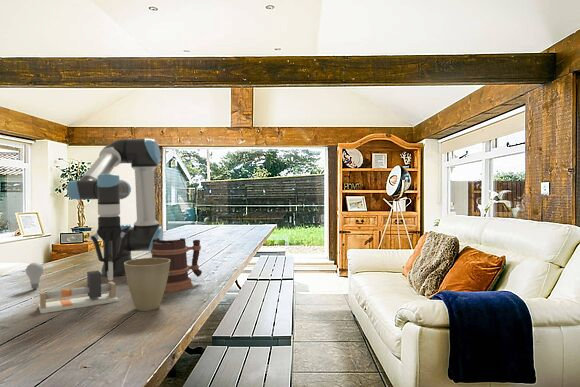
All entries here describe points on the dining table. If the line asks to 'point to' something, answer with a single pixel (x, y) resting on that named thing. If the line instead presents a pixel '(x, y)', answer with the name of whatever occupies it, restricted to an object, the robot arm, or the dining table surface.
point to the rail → (75, 302)
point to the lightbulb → (34, 274)
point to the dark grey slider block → (94, 284)
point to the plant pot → (147, 281)
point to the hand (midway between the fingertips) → (110, 279)
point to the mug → (177, 262)
